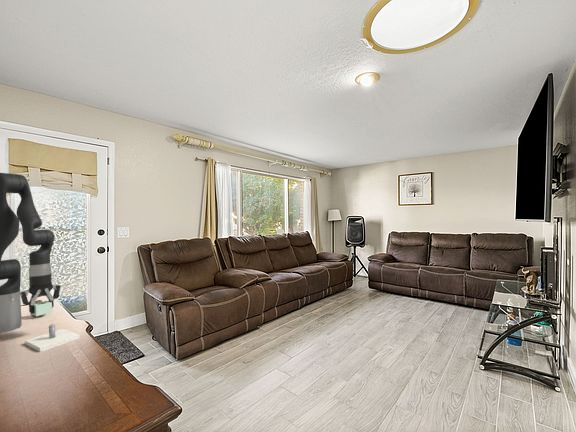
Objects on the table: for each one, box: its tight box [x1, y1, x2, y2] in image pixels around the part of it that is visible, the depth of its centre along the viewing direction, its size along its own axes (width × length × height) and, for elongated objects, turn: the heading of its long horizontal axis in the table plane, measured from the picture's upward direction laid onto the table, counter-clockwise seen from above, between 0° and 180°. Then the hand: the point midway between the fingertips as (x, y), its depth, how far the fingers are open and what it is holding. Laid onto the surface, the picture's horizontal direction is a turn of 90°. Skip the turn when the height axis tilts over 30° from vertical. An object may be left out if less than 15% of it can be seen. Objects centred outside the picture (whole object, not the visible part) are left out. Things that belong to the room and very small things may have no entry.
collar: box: [30, 300, 53, 316], centre depth 125 cm, size 6×6×4 cm
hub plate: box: [24, 323, 80, 353], centre depth 116 cm, size 16×13×7 cm
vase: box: [29, 299, 46, 319], centre depth 150 cm, size 7×7×9 cm
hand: (41, 310), depth 125 cm, fingers closed on collar, 5 cm apart
